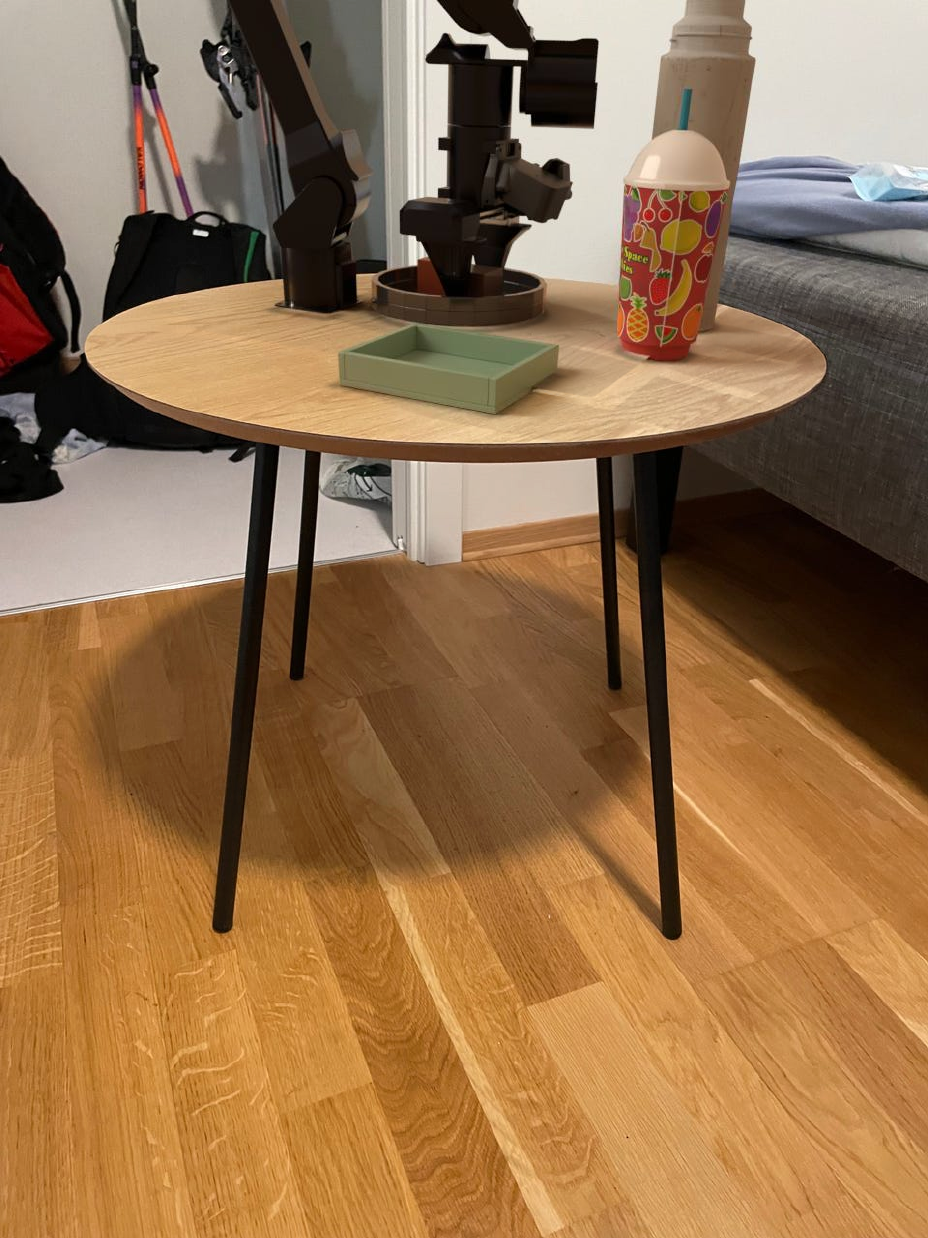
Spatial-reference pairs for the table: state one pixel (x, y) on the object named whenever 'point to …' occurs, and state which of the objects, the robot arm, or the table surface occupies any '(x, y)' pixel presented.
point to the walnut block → (485, 281)
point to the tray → (448, 366)
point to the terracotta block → (428, 279)
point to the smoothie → (669, 240)
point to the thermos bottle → (710, 99)
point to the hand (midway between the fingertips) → (474, 305)
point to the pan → (458, 300)
